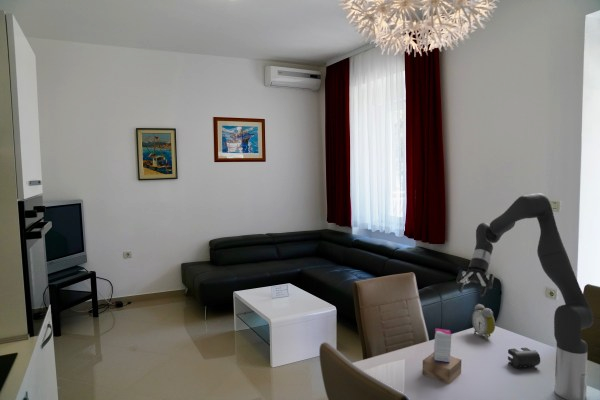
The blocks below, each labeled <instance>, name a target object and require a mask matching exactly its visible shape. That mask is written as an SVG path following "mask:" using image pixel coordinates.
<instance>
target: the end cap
mask: <svg viewBox="0 0 600 400" xmlns="http://www.w3.org/2000/svg"><path fill="white" fill-rule="evenodd" d="M507 353H508V356H507V362H508V365H510V366H511V367H512V368H514V369H517V368H518V369H519V368H529V367H537V366H539V365H540V363H541V357H540V354H539V352H538V351H537V350H535V349H534V350H533V349H532V350H531V349H529V348H528V347H521V348H520V350H517V349H516V348H509V349H507ZM509 355H511V356H509Z"/></svg>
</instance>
